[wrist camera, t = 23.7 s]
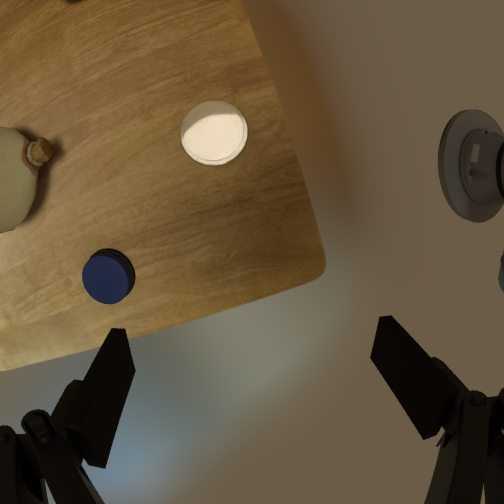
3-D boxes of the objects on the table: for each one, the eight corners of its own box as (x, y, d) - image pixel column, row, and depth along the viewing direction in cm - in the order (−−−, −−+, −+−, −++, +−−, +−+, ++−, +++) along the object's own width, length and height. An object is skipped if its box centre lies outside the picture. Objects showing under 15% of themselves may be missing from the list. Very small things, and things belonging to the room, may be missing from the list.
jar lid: (98, 241, 40) (93, 245, 38) (140, 270, 42) (137, 275, 40) (80, 281, 41) (75, 286, 40) (119, 307, 43) (115, 313, 41)
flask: (-21, 154, 33) (54, 101, 34) (4, 237, 38) (81, 195, 39) (-54, 157, 25) (22, 91, 25) (-27, 253, 30) (52, 204, 30)
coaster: (143, 264, 42) (141, 266, 42) (125, 306, 44) (123, 308, 43) (97, 239, 41) (95, 240, 40) (82, 282, 42) (80, 284, 42)
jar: (252, 128, 38) (261, 118, 28) (226, 173, 40) (226, 178, 30) (206, 103, 37) (200, 86, 26) (180, 148, 38) (165, 146, 28)
